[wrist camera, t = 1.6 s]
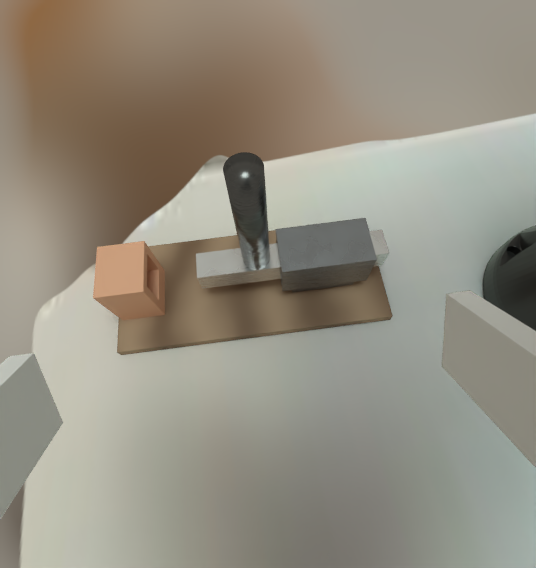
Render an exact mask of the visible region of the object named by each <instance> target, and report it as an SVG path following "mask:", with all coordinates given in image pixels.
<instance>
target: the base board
mask: <svg viewBox="0 0 536 568" xmlns="http://www.w3.org/2000/svg"><path fill="white" fill-rule="evenodd" d="M268 235H269V244H275V243H276V230H275V231H268ZM236 248H240V245H239V240H238V235H235V236H227V237H219V238H212V239H204V240H196V241H188V242H180V243H172V244H164V245H156V246H149V249H150V250H151V252H152V253H153V254H154V256H155V257H156V259H157V260H158V262H159V263H160V265H161V266H162V267H163V269H164V270H165V315H160V316H152V317H145V318H137V319H129V320H122V319H120V318H119V325H118V346H117V353H119V354H121V355H124V354H132V353H139V352H147V351H154V350H162V349H170V348H177V347H185V346H193V345H200V344H208V343H215V342H223V341H231V340H238V339H246V338H253V337H261V336H269V335H276V334H284V333H291V332H299V331H307V330H314V329H322V328H329V327H337V326H345V325H352V324H360V323H367V322H375V321H383V320H390V319H391V317H392V312H391V309H390V305H389V302H388V298H387V295H386V291H385V287H384V284H383V280H382V277H381V273H380V270H379V266H375V267H373V269H372V270H371V272H370V274H369V276H368V278H367V280H365V281H357V282H354V283H353V285H346V286H339V287H331V288H323V289H316V290H308V291H300V292H293V293H292V290H288V291H282V286H281V279H274V280H266V281H259V282H251V283H243V284H235V285H228V286H220V287H212V288H204V289H203V288H202V286H201V284H200V283H199V281H198V279H197V267H196V254H197V253H205V252H213V251H220V250H228V249H236Z"/></svg>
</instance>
